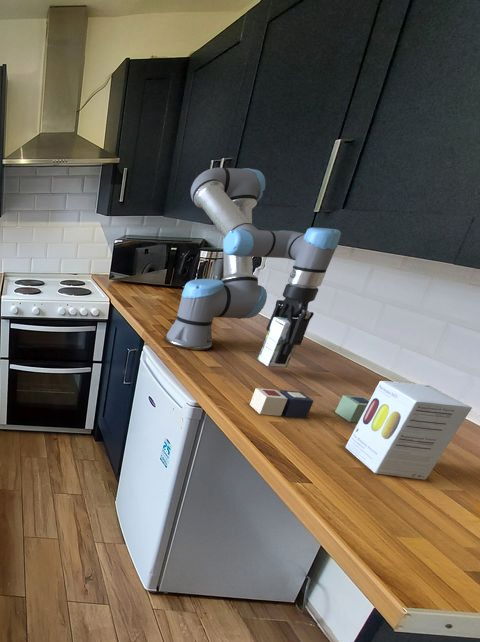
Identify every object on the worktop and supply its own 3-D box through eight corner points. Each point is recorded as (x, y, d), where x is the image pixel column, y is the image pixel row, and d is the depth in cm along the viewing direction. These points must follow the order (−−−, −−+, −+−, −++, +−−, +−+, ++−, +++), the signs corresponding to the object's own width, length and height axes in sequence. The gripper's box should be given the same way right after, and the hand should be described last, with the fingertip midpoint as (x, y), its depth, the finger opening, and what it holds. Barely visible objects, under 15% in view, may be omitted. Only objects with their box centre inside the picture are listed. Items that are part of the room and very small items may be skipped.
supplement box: (343, 447, 89) (377, 379, 82) (390, 452, 88) (428, 383, 81) (375, 474, 80) (416, 401, 73) (428, 481, 79) (475, 406, 72)
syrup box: (275, 360, 127) (293, 317, 121) (287, 368, 122) (306, 323, 116) (257, 359, 128) (273, 316, 122) (267, 367, 122) (285, 322, 116)
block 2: (273, 406, 105) (280, 389, 103) (293, 408, 105) (301, 391, 103) (284, 416, 101) (292, 398, 99) (306, 418, 100) (314, 400, 98)
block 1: (249, 404, 106) (255, 387, 104) (269, 406, 105) (276, 389, 103) (259, 414, 101) (266, 396, 99) (280, 416, 101) (288, 398, 99)
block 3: (334, 411, 104) (343, 394, 102) (355, 413, 103) (364, 396, 101) (349, 422, 99) (358, 403, 97) (371, 423, 99) (380, 405, 97)
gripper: (270, 277, 123) (245, 346, 133) (310, 292, 106) (278, 371, 116) (296, 278, 122) (269, 348, 132) (340, 294, 105) (306, 373, 115)
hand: (273, 358), depth 124 cm, fingers closed on syrup box, 6 cm apart
